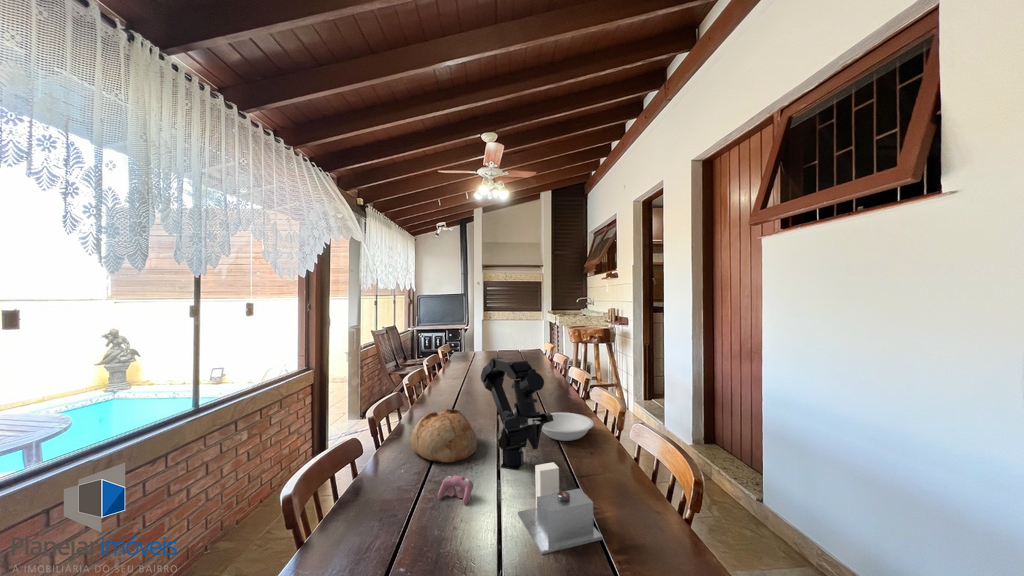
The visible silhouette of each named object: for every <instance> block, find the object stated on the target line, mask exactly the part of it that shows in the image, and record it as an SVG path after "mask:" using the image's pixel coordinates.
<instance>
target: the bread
mask: <svg viewBox="0 0 1024 576" xmlns="http://www.w3.org/2000/svg"><path fill="white" fill-rule="evenodd" d="M409 444H410V447H411V449H412V451H413V452H415V453H416V455H418V456H420V457H421V458H423V459H426V460H428V461H432V462H433V461H434V462H439V463H445V464H448V463H455V462H458V461H462V460H465V459H468V458H469V457H470V456H472V455H473V454H474V453H475V452H476V450H477V448H478V437H477V434H476V432H475V430H474V428H473V427H472V425H471V423H470V421H469V420H468V419H467V418H466V416H465V415H464V414H463V413H462V412H461V411H460V410H458V409H456V408H454V409H453V408H452V409H451V408H450V409H449V408H446V409H442V410H441V411H440V412H436V411H431V412H430V411H429V412H428V413H427V414H425V415H424V416H423V417H421V418H420V419H419V421H418V422H417V423H416V424H415V426H414V427H413V429H412V432H411V435H410V438H409Z"/></svg>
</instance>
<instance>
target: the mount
mask: <svg viewBox="0 0 1024 576" xmlns="http://www.w3.org/2000/svg"><path fill="white" fill-rule="evenodd" d="M517 516H518V517H519V520H520V521H521V522H522V524H523V526H524V528H525V529H526V531H527V533H528V535H529V536H530V538H531V540H532V541H533V542H534V545H535V546H536V548H537V550H538V551H539V553H540V555H546V554H549V553H553V552H558V551H563V550H566V549H570V548H575V547H577V546H583V545H585V544H586V545H587V544H588V543H589V544H590V543H594V542H597V541H602V540H603V535H602V534H601V532H599V531H598V529H597V528H596V527H595V526H594V501H593V500H592V499H591V498H589V496H588V495H587V494H586V492H585V493H584V491H583V490H582V489H580V488H575V489H569V490H563V491H559V493H554V494H549V495H544V496H539V497H537V508H536V507H534V508H530V509H525V510H519V511H517Z"/></svg>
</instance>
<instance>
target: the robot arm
mask: <svg viewBox="0 0 1024 576" xmlns="http://www.w3.org/2000/svg"><path fill="white" fill-rule="evenodd" d="M505 376H506V377H507V378H509V379H511V380H513V383H512V384H511V388H512V389H513V391H514V397H515V400H516V402H515V403H514V404H513V408H514V409H513V410H512V406H511V405H510V402H509V400H508V399H509V398H508V397H507V394H506V391H505V389H504V387H503V383H504V380H505ZM480 380H481V382H482V384H483V386H484V389H486V390H488V391H489V392H490V393H491V396H492V398H493V400H494V404H495V406H496V410H497V412H498V416H499V417H500V420H501V423H502V428H501V431H500V433H501V435H500V437H499V439H498V440H497V442H498V447H499V448H500V449H501V450H502V463H501V465H500V467H501V468H505V469H509V470H510V469H511V470H518V471H519V470H520V468H521V467H522V466H523V464H524V463H525V460H524V459H525V458H524V457H525V456H524V455H525V453H524V451H523V448H526V447H527V442H529V444H530V445H531V447H532V449H533V450H537V449H538V448H539V443H540V437H541V432H542V426H543V425H544V424H545V423H548V422H552V421H554V420H553V416H552V414H550V413H551V412H544V413H540V411H537V407H536V403H538V400H537V398H534V395H533V394H535V393H537V392H539V391H541V390H542V389H543V388H544V386H545V379H544V378H543V376H542V375H541V374H540V373H538V372H537V370H536V369H535V368H533V367H532V366H531V363H529V361H528V360H525V359H523V360H510V359H507V358H504V357H492V358H491V359H490V360H489V362H488V363H487V364H486V365H485V366H484V367H483V368H482V371H481V374H480Z"/></svg>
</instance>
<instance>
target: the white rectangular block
mask: <svg viewBox="0 0 1024 576" xmlns="http://www.w3.org/2000/svg"><path fill="white" fill-rule="evenodd" d="M534 468H535V469H534V472H535V473H534V474H535V478H534V479H535V508H537V497H539V496H544V495H549V494H554V493H559V492H560V467H559V466H558V465H557V464H556V463H555V462H548V463H547V462H545V463H542V464H536V465H535V467H534Z"/></svg>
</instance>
